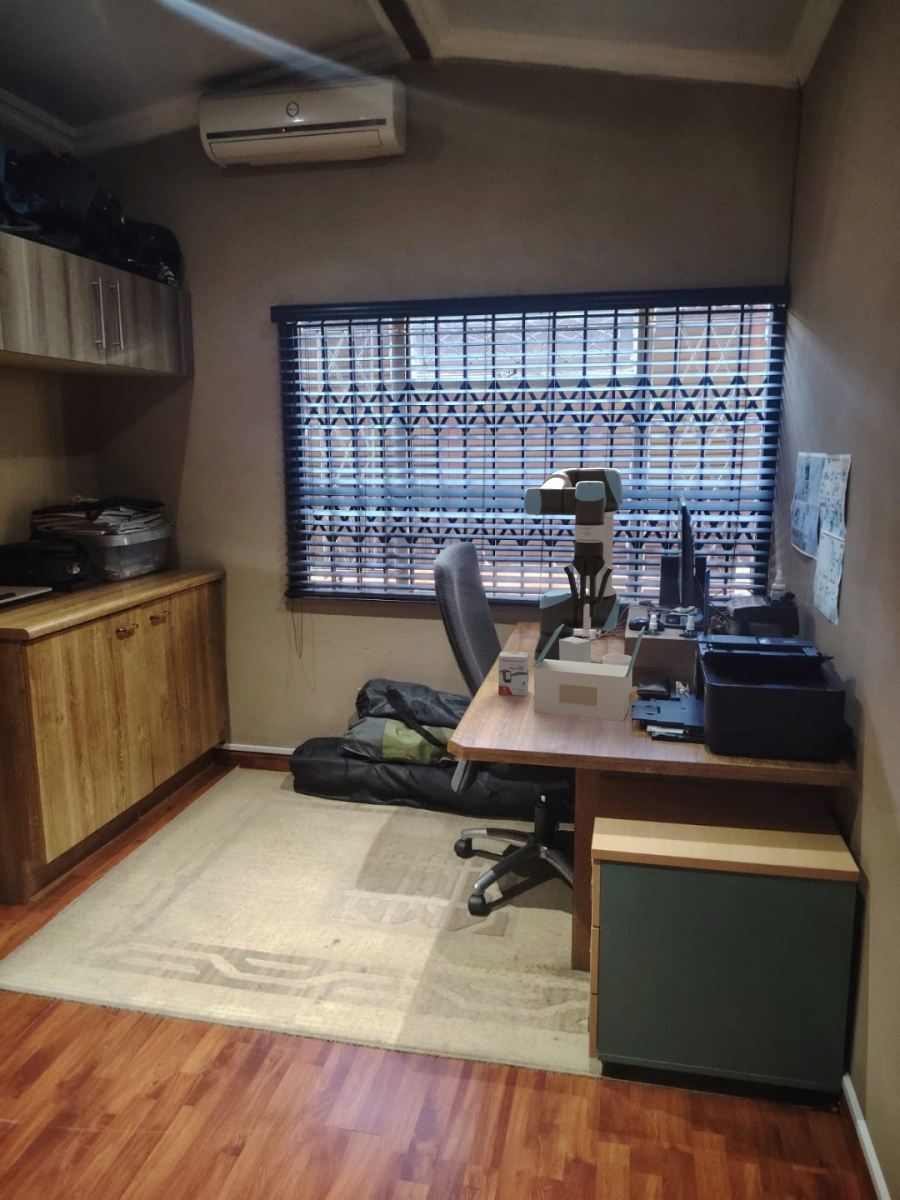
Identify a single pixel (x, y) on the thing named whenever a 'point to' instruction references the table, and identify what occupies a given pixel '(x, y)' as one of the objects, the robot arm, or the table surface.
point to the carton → (581, 689)
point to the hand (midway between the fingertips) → (586, 628)
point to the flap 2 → (635, 651)
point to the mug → (618, 663)
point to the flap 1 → (548, 645)
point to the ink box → (513, 673)
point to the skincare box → (575, 650)
